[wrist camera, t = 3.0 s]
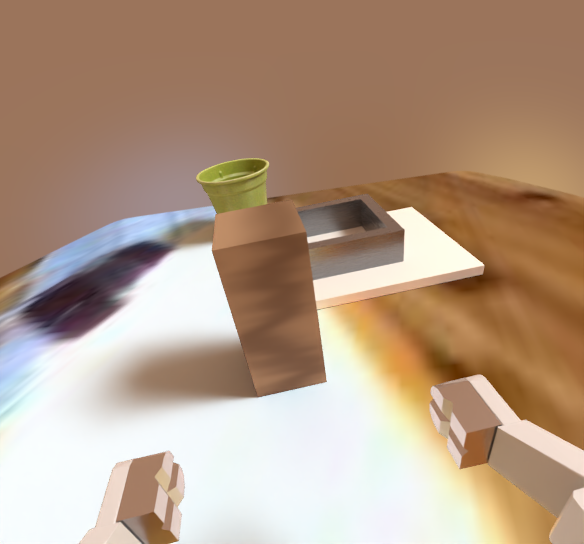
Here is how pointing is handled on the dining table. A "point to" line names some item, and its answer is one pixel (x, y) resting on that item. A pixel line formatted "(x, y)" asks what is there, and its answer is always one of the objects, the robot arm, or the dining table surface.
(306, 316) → the walnut post
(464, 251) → the base plate
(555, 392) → the dining table surface
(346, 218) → the steel collar
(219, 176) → the plant pot
